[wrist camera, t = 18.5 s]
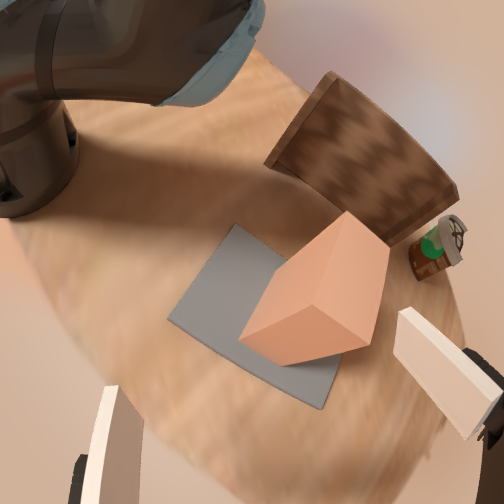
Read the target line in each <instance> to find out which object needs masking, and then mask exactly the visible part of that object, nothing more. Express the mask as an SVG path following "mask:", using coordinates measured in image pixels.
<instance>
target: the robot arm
mask: <svg viewBox="0 0 504 504" xmlns="http://www.w3.org/2000/svg"><path fill="white" fill-rule="evenodd" d="M264 17H265V3H264V1H263V0H0V218H13V217H18V216H22V215H25V214H28V213H30V212H33V211H35V210H37V209H39V208H40V207H42V206H44V205H45V204H47V203H48V202H49V201H51V200H52V199H53V198H54V197H55V196H57V195H58V194H59V193H60V192H61V191H62V190H63V188H64V187H65V186H66V185H67V184H68V182H69V181H70V179H71V178H72V176H73V174H74V172H75V170H76V167H77V164H78V160H79V139H78V134H77V130H76V128H75V126H74V123H73V121H72V119H71V117H70V115H69V113H68V110H67V108H66V106H65V104H64V101H63V100H103V101H121V102H134V103H144V104H150V105H151V106H154V107H158V106H161V107H162V106H165V105H169V106H180V107H190V108H191V107H197V106H201V105H205V104H207V103H209V102H210V101H212V100H213V99H215V98H216V97H217V96H218V95H220V94H221V93H222V92H223V91H224V90H225V88H226V87H227V86H228V85H229V84H230V83H231V81H232V80H233V79H234V77H235V76H236V75H237V73H238V72H239V70H240V69H241V67H242V66H243V64H244V62H245V61H246V59H247V57H248V56H249V54H250V52H251V50H252V48H253V46H254V44H255V41H256V40H255V39H254V36H255V35H256V34H257V32H258V31H259V30H260V29H261V27H262V24H263V21H264ZM393 354H394V355H395V357H396V358H397V359H398V360H399V361H400V362H401V363H402V365H403V366H404V367H405V368H406V369H407V370H408V372H409V373H410V374H411V375H412V376H413V377H414V379H415V380H416V381H417V382H418V383H419V385H420V386H421V387H422V388H423V389H424V390H425V392H426V393H427V394H428V395H429V396H430V398H431V399H432V400H433V401H434V403H435V404H436V405H437V406H438V407H439V409H440V410H441V411H442V412H443V413H444V415H445V416H446V417H447V418H448V420H449V421H450V422H451V423H452V425H453V426H454V427H455V428H456V430H457V431H458V432H459V433H460V435H461V436H462V437H463V439H464V440H467V439H469V438H470V437H471V436H472V435H473V434H475V433H476V432H477V431H478V430H479V428H480V427H481V426H482V424H484V425H485V428H484V429H483V431H482V432H481V433H480V435H479V436H478V439H477V441H479V440H480V439H481V438H482V436H483V435H484V438H483V439H482V440H483V454H482V465H481V473H480V480H479V487H478V493H477V498H476V503H475V504H504V377H503V376H502V375H500V373H499V372H498V371H497V370H495V369H494V368H493V367H492V366H491V365H489V363H488V362H487V361H486V360H484V359H483V358H482V357H481V356H480V355H479V354H478V353H477V352H475V351H473V350H471V349H469V348H465V349H464V350H462V351H461V350H460V349H459V348H458V347H457V346H456V345H454V344H453V343H452V342H451V341H450V340H449V339H448V338H447V337H446V336H444V335H443V334H442V333H441V332H440V331H439V330H438V329H437V328H435V327H434V326H433V325H432V324H431V323H430V322H428V321H427V320H426V319H425V318H424V317H423V316H421V315H420V314H419V313H418V312H417V311H416V310H414V309H413V308H412V307H411V306H410V307H408V308H406V309H403V310H401V311H399V312H398V321H397V329H396V336H395V343H394V349H393ZM143 427H144V420H143V418H142V417H141V416H140V414H139V413H138V412H137V410H136V409H135V408H134V406H133V405H132V403H131V402H130V401H129V399H128V398H127V396H126V395H125V393H124V392H123V390H122V389H121V388H120V386H119V385H115V386H105V388H104V391H103V395H102V399H101V403H100V406H99V411H98V415H97V418H96V422H95V427H94V431H93V436H92V440H91V445H90V449H89V454H88V455H84V454H81V455H80V457H79V458H78V460H77V462H76V463H75V467H74V472H73V474H74V476H73V477H72V484H71V488H70V494H69V501H68V504H139V486H140V466H141V465H140V464H141V450H142V438H143Z"/></svg>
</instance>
